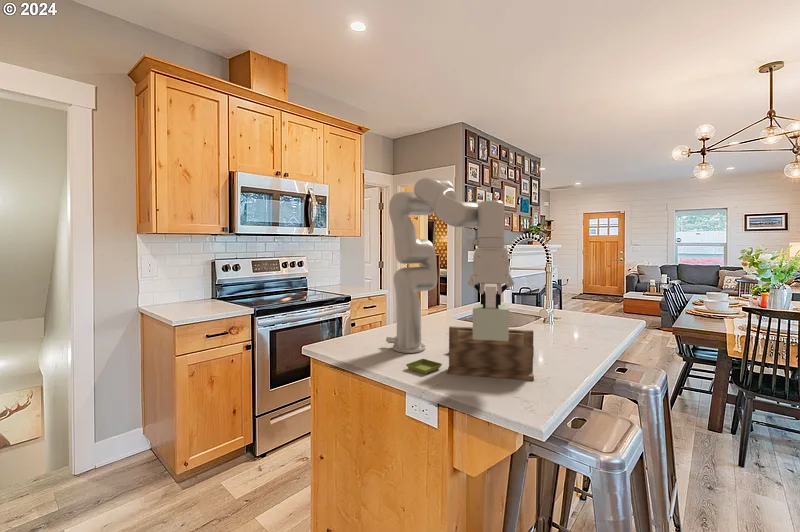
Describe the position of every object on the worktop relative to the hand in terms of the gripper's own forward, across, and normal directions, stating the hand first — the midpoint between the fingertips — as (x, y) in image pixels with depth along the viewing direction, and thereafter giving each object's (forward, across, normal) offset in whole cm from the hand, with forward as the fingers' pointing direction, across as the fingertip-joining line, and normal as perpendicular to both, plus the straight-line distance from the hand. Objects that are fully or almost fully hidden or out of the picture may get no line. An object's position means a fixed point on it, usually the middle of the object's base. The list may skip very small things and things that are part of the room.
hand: (490, 306), depth 116 cm
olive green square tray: (+23, -21, +8) cm, 33 cm away
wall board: (+23, 0, +8) cm, 24 cm away
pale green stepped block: (+9, 0, +2) cm, 9 cm away
